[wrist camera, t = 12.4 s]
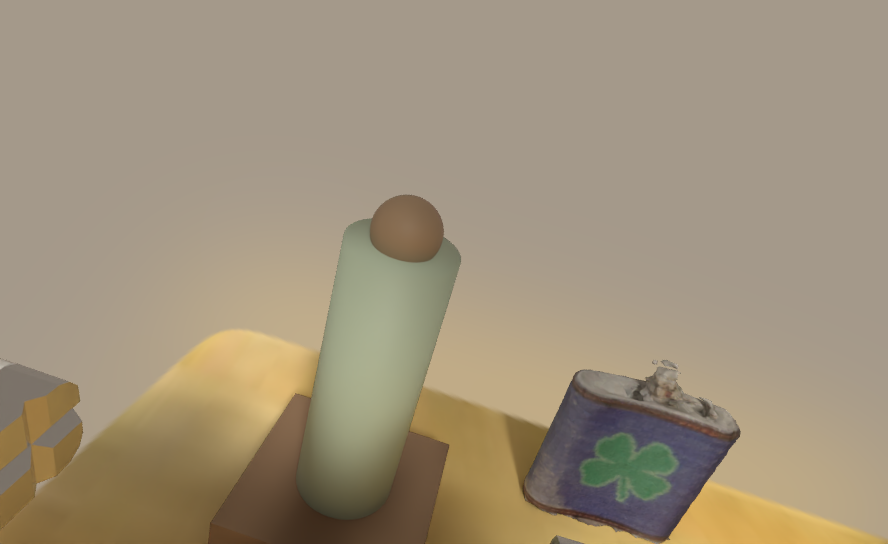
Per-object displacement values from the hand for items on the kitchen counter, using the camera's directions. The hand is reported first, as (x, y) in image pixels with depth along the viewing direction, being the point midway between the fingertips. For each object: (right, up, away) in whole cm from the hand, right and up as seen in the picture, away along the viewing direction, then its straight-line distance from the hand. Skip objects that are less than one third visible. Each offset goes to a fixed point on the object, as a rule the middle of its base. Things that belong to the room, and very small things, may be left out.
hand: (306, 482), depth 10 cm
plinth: (-3, -9, +21) cm, 23 cm away
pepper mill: (-3, -7, +19) cm, 20 cm away
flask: (+11, -11, +26) cm, 30 cm away
